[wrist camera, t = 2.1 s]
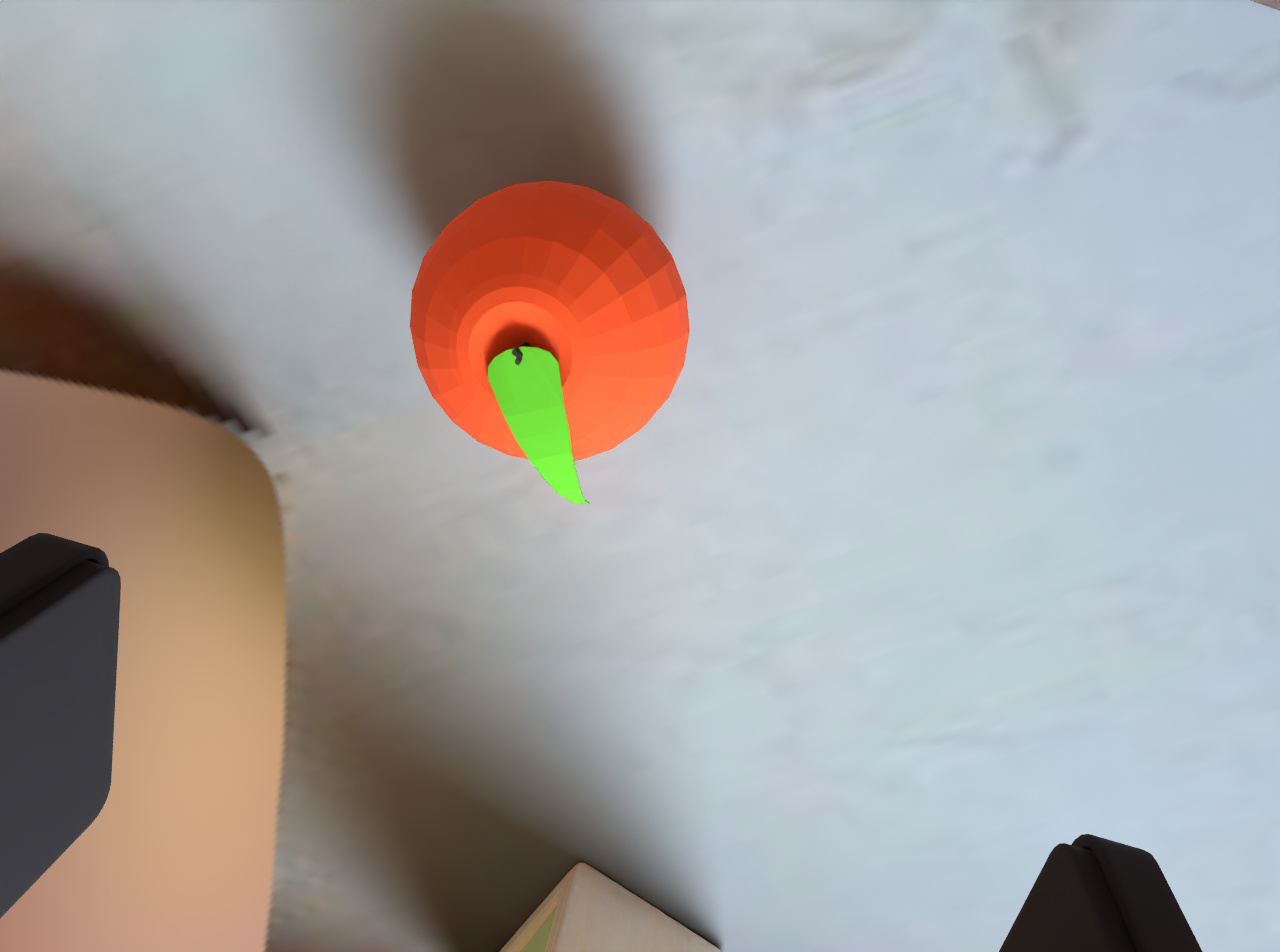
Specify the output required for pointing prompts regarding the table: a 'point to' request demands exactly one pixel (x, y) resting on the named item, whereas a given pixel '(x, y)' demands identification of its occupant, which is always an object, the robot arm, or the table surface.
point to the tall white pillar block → (600, 921)
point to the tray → (1269, 3)
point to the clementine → (549, 324)
